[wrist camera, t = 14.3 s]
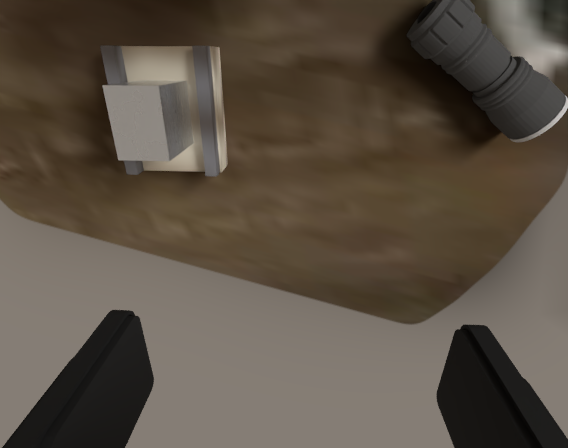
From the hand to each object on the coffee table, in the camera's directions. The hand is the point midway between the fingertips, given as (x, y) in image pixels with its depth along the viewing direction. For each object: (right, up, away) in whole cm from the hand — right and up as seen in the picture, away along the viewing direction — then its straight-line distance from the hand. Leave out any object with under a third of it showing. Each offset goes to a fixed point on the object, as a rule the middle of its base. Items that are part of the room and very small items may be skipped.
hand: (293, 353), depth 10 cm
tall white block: (-12, +15, +24) cm, 31 cm away
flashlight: (+19, +19, +24) cm, 36 cm away
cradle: (-12, +16, +27) cm, 33 cm away
